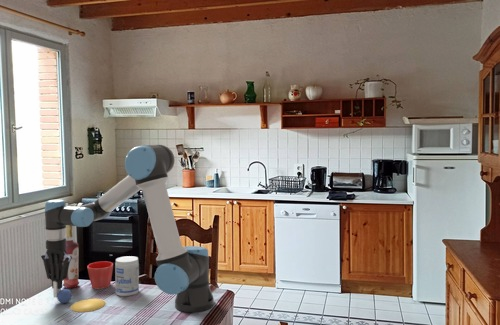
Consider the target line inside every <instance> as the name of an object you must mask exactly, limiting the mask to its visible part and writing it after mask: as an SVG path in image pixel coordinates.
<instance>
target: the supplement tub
mask: <svg viewBox="0 0 500 325" xmlns="http://www.w3.org/2000/svg"><path fill="white" fill-rule="evenodd" d="M139 263H140V262H139V257H138V256H132V255H131V256H130V255H129V256H127V255H126V256H120V257H117V258H115V263H114V264H115V266H114V268H115V272H114V273H115V276H114V277H115V282H114V283H115V294H116V295H118V296H120V297H129V296H133V295H136V294H138V292H139V291H140V290H139V289H140V280H139V279H140V278H139V276H140V275H139V274H140V271H139Z"/></svg>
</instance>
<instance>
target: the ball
mask: <svg viewBox="0 0 500 325" xmlns="http://www.w3.org/2000/svg"><path fill="white" fill-rule="evenodd" d="M72 297H73V292H71V290H70V289H68V288H63V289H61V291H60V292H59V293H58V295H57V298H56V299H57V301H58V302H59V303H60V304H67V303H69V302H70V301H71V300H72Z"/></svg>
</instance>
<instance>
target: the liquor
mask: <svg viewBox="0 0 500 325" xmlns="http://www.w3.org/2000/svg"><path fill="white" fill-rule="evenodd" d="M65 238H66V249H65V250H66V252H67V255H68V256H71V257H72V259H71V261H70V264H69V269H68V274H67V278H66V279H64V280H63V283H62V287H64V289H68V290H70V289H75V288H77V287H78V286H79V285H80V282H79V248H80V247H79V243H78V242H76V241H74V238H73V226H69V225H66V237H65ZM63 262H64V259H63Z"/></svg>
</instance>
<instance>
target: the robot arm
mask: <svg viewBox="0 0 500 325" xmlns="http://www.w3.org/2000/svg"><path fill="white" fill-rule="evenodd" d="M175 160H176V159H175V154H174V152H173V151H172V150H171V149H170V148H169V147H167V146H166V145H163V144H149V145H147V144H143V145H139V146H135V147H133V148H132V149H130V150H129V151H128V152H127V154H126V157H125V160H124V169H125V171H126V173H127V175H126V176H125V177H124V178H123V179H121V180H120V181H119V182H117V183H116V184H115V185H114V186H112V188H109V189H108V190H107V191H106V192H105V193H104V194H102V195H101V196H100V197H98V198H97V199H96V200H94V201H93V202H90V203H86V204H82V205H78V206H74V205H73V206H69V205H67V204H66V200H64V199H50V200H47V201H45V203H44V204H45V205H44V207H45V208H44V218H45V222H44V223H45V239H46V240H45V248H46V252H45V253H44V254H42V255H40V256H41V259H42V261H43V265H44V268H45V269H44V270H45V273H46V274H45V275H46V278H47V279H48V280H51V287H52V290H53V298H56V299H57V295H58V293H59V292H60V291H61V290H62V288H63V281H64V279H66V278H67V274H68V269H69V264H70V261H71V259H72V257H71V256H68V255H67V252H66V250H65V249H66V233H67V231H66V225H69V226H72V227H78V228H85V227H86V228H87V227H90V225H91V224H92V223H93V222H96V221H99V220H104V219H106V218H108V217H109V216H111V214H112V211H114V210H115V209H117V207H119V206H120V205H121V204H123V203H125V202H126V201H127V200H128V199H130V198H132V196H134V195H136V193H138V192H139V191H140V190H141V191H142V195H143V199H144V204H145V206H146V209H147V213H148V218H149V222H150V225H151V230H152V233H153V237H154V240H155V241H154V242H155V244H156V247H157V251H158V255H157V257H156V258H155V262H156V264H157V268H156V269H155V270H156V271H155V272H154V281H155V282H154V283H155V285H156V286H157V287H158V289H159V290H160V291H162V292H163V293H165V294H167V295H175V298H174V307H175V309H176V310H177V311H180V312H185V313H199V312H200V313H201V312H204V311H207V310H209V309H211V308H212V307H214V305H215V303H214V296H213V293H212V290H211V286H210V270H209V268H210V267H209V264H210V263H209V262H210V256H209V255H210V254H209V249H208V248H206V247H204V246H198V245H197V246H196V245H195V246H194V245H192V246H191V245H189V246H188V245H186V246H183V245H182V242H181V238H180V233H179V230H178V227H177V223H176V220H175V219H176V218H175V215H174V211H173V207H172V205H171V204H172V203H171V200H170V196H169V193H168V189H167V185H166V182H167V181H168V179H169V177H168V174H169V173H170V172H171V171H172V169H173V168H174V166H175ZM63 259H64V262H63Z"/></svg>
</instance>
